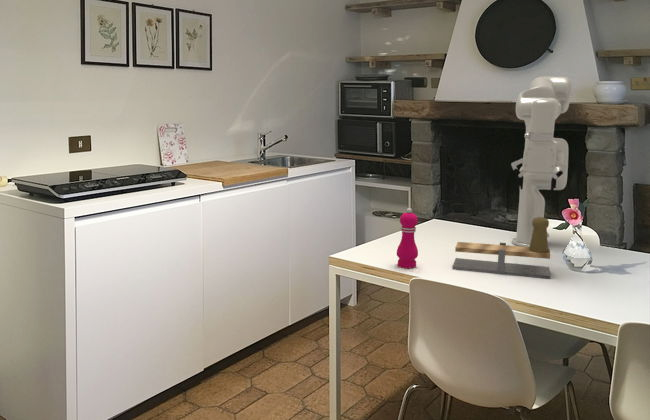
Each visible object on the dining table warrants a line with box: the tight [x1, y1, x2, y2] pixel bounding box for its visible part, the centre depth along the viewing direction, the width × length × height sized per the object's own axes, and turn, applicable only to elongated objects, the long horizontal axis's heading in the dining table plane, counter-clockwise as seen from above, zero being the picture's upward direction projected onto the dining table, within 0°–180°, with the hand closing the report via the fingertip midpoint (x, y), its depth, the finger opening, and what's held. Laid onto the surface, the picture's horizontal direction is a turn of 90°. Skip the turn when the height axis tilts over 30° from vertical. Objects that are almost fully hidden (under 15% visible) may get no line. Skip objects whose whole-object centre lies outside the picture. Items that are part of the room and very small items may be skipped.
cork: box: [529, 217, 550, 253], centre depth 202 cm, size 6×6×11 cm
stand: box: [451, 242, 551, 280], centre depth 207 cm, size 31×11×8 cm, turn 73°
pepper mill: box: [396, 207, 419, 269], centre depth 208 cm, size 7×7×20 cm
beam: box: [454, 241, 551, 260], centre depth 206 cm, size 30×8×2 cm, turn 73°
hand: (536, 189), depth 205 cm, fingers open, 9 cm apart
